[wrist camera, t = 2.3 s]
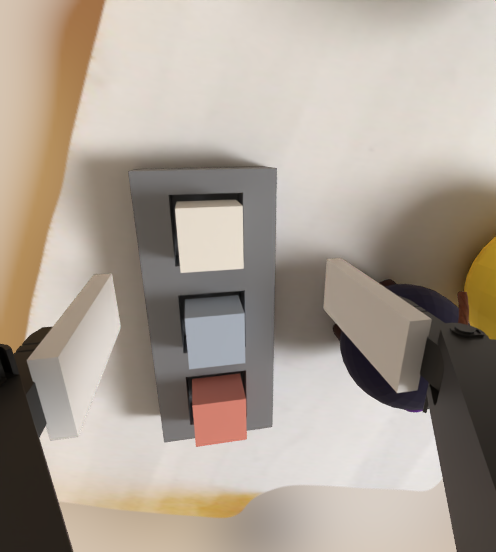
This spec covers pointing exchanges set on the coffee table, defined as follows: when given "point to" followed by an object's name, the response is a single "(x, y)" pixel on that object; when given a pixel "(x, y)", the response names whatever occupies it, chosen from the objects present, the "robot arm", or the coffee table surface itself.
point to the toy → (367, 372)
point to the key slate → (215, 331)
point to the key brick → (219, 409)
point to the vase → (483, 290)
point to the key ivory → (209, 235)
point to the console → (206, 285)
